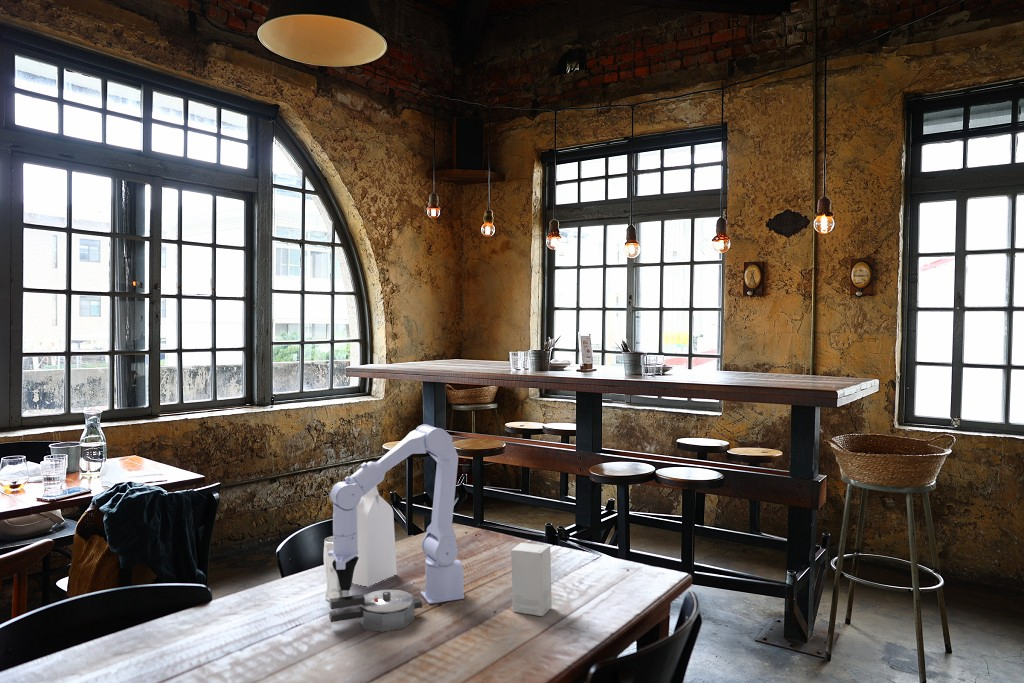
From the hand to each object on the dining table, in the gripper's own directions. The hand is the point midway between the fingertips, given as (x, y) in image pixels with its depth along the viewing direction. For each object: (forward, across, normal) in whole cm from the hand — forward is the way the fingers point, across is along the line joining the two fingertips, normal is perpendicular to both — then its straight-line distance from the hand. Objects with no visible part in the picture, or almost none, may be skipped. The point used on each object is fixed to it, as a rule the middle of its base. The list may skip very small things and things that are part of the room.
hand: (345, 589), depth 170 cm
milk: (+7, -26, +1) cm, 27 cm away
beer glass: (+6, -12, -4) cm, 14 cm away
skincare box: (+7, -1, +45) cm, 45 cm away
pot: (+6, +4, +8) cm, 11 cm away
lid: (+2, +4, +7) cm, 8 cm away
